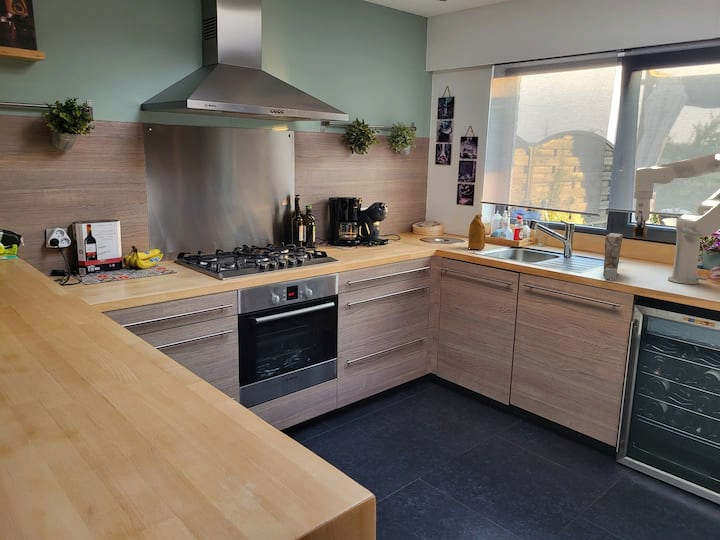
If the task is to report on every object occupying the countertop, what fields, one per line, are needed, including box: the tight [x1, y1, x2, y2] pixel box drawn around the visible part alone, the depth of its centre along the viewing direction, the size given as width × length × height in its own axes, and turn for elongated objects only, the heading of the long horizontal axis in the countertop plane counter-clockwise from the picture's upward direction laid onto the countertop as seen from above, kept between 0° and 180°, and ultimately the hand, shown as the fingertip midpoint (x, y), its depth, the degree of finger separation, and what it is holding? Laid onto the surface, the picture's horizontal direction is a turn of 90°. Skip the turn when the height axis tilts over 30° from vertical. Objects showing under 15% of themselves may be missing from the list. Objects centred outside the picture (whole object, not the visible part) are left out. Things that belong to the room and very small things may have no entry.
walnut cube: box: [632, 224, 648, 239], centre depth 250 cm, size 5×5×5 cm
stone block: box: [603, 232, 624, 276], centre depth 269 cm, size 13×7×20 cm, turn 153°
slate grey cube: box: [603, 268, 618, 281], centre depth 260 cm, size 5×5×5 cm
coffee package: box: [467, 213, 487, 251], centre depth 343 cm, size 10×12×22 cm
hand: (639, 235), depth 251 cm, fingers closed on walnut cube, 5 cm apart
